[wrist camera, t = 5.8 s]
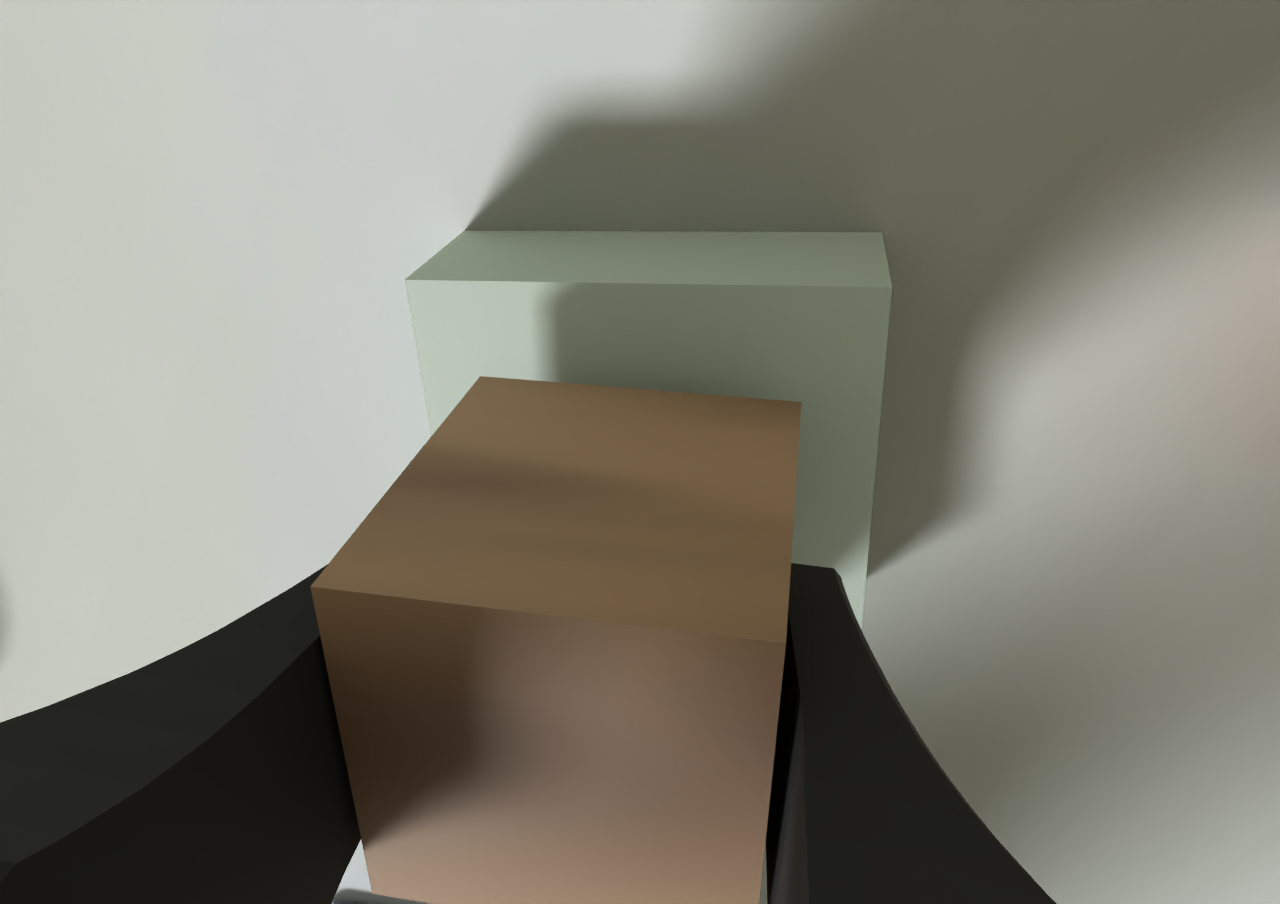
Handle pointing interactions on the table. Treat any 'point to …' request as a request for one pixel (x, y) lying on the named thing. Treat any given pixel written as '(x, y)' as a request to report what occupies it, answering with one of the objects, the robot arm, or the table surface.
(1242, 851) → the table surface
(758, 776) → the walnut block
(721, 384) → the base block
